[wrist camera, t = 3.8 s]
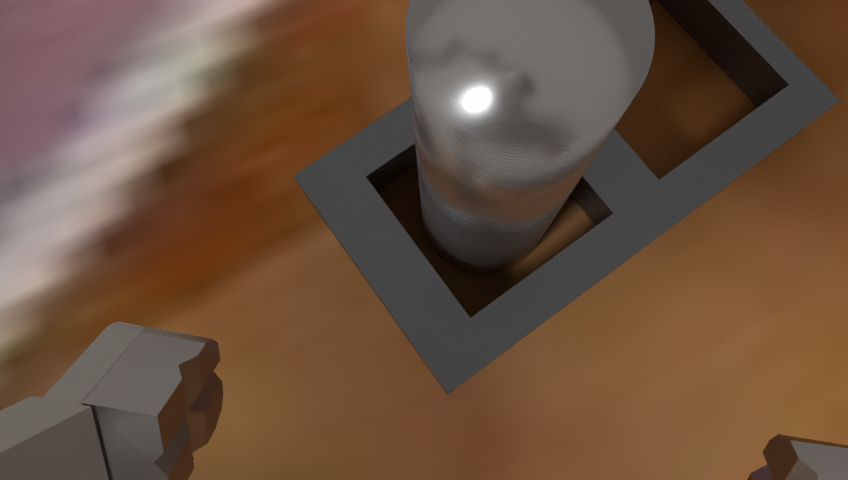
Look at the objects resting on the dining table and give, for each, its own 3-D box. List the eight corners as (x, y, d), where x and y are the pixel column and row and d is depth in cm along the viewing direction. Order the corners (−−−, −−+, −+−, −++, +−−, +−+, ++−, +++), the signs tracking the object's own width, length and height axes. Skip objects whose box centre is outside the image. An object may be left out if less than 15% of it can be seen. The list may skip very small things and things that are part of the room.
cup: (397, 198, 23) (357, 6, 12) (495, 130, 24) (549, -118, 12) (471, 297, 22) (507, 194, 11) (571, 224, 23) (708, 51, 11)
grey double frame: (305, 193, 24) (293, 175, 22) (651, -40, 26) (669, -75, 24) (446, 393, 22) (447, 393, 20) (807, 124, 24) (840, 100, 22)
